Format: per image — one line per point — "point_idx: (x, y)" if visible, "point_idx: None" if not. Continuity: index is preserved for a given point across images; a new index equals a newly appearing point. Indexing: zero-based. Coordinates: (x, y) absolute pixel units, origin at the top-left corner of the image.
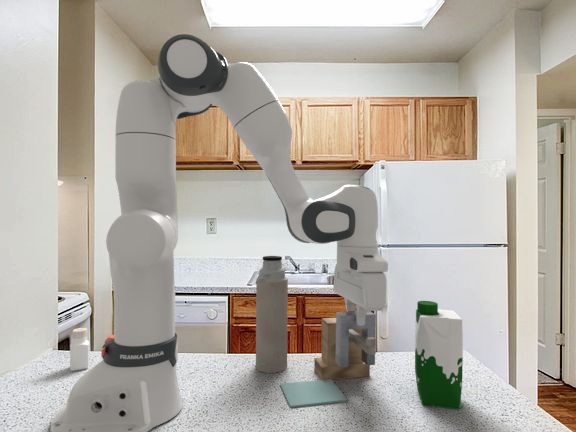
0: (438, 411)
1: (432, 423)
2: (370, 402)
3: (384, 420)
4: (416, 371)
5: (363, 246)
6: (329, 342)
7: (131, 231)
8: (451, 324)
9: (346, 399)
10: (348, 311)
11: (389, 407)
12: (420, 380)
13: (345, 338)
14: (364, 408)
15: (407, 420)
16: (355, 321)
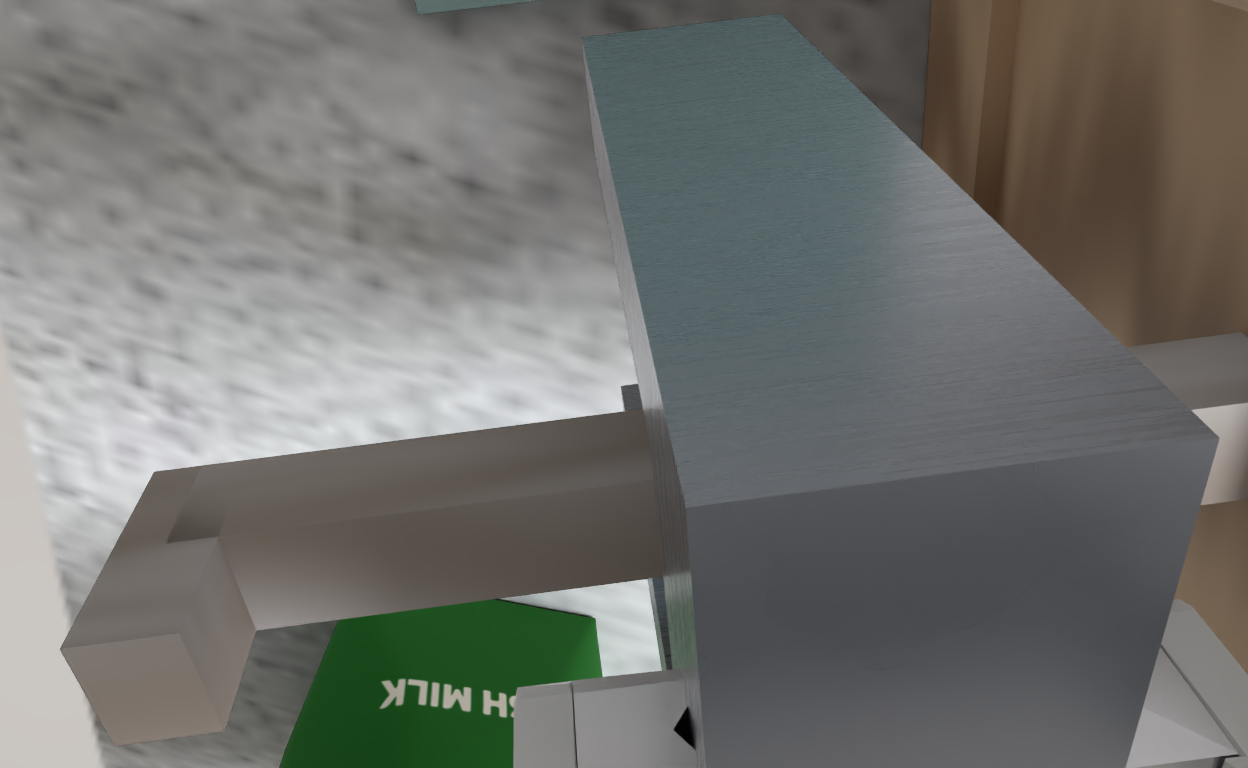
0: (277, 629)
1: (104, 546)
2: (404, 228)
3: (93, 248)
4: (438, 737)
5: None
6: (1207, 38)
7: None
8: None
9: (419, 6)
10: (1200, 763)
11: (319, 352)
12: (369, 703)
13: (624, 282)
14: (290, 142)
15: (121, 411)
16: (637, 708)
